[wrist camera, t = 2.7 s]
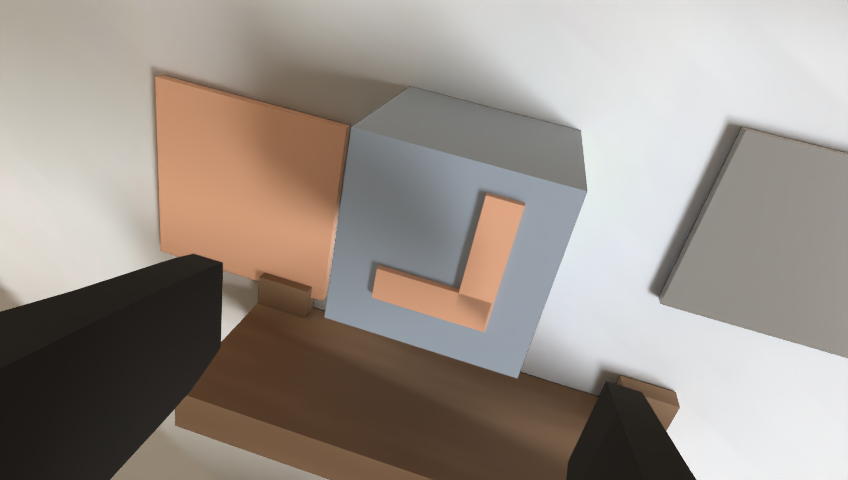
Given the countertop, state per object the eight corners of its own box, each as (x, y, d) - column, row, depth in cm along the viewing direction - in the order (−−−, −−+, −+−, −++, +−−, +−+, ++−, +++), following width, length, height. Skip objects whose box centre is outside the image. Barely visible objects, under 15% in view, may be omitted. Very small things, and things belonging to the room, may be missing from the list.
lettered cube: (529, 278, 19) (516, 383, 14) (382, 235, 20) (321, 321, 15) (580, 130, 17) (587, 194, 12) (410, 85, 17) (348, 129, 12)
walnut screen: (634, 465, 22) (657, 623, 16) (263, 345, 23) (175, 452, 18) (675, 392, 20) (716, 542, 14) (269, 267, 22) (174, 360, 16)
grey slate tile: (843, 351, 18) (849, 358, 17) (658, 297, 18) (660, 303, 18) (965, 182, 15) (975, 187, 15) (741, 126, 16) (746, 130, 15)
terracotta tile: (326, 295, 21) (322, 301, 21) (167, 246, 22) (160, 250, 22) (350, 125, 18) (346, 128, 18) (162, 75, 19) (154, 76, 19)
